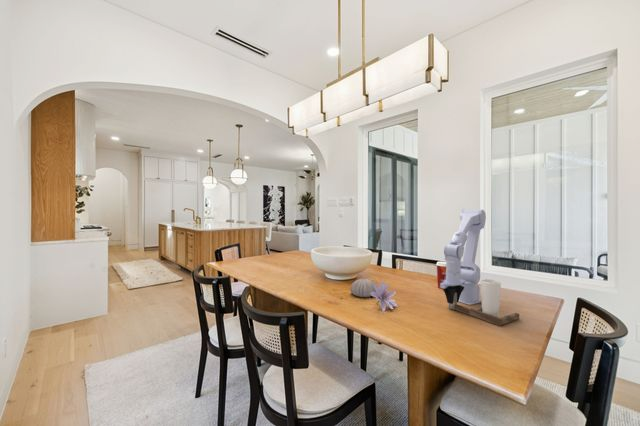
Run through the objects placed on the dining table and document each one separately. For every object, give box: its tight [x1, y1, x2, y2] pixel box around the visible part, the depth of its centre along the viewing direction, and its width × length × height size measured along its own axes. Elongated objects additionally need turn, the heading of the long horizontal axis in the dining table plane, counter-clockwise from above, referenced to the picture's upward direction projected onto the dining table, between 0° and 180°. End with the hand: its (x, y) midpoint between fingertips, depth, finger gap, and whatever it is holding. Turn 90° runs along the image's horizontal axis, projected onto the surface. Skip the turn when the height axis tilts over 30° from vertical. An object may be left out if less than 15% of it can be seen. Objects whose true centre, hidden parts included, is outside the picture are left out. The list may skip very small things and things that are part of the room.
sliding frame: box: [448, 292, 520, 327], centre depth 114 cm, size 15×22×7 cm
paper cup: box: [436, 261, 446, 290], centre depth 151 cm, size 8×8×14 cm
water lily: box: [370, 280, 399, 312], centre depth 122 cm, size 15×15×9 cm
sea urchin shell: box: [349, 278, 377, 298], centre depth 138 cm, size 13×14×8 cm
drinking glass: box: [480, 278, 502, 318], centre depth 108 cm, size 7×7×15 cm
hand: (452, 302), depth 119 cm, fingers closed on sliding frame, 3 cm apart
